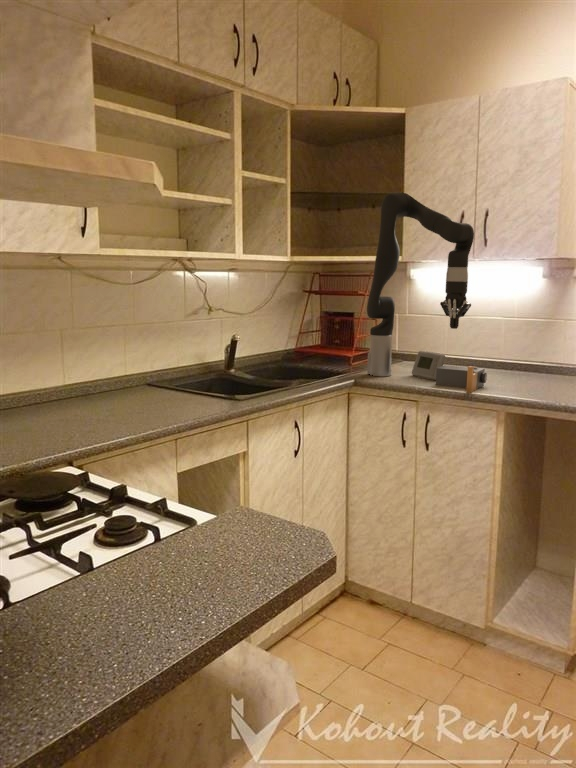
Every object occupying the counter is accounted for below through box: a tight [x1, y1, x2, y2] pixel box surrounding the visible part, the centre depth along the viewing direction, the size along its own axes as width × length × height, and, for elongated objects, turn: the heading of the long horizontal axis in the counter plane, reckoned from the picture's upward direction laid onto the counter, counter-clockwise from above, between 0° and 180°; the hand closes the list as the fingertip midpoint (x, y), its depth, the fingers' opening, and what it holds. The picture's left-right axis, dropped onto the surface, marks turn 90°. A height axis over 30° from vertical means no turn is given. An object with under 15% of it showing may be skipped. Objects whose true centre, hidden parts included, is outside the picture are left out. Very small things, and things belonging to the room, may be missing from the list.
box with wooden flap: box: [435, 364, 488, 389], centre depth 234 cm, size 18×9×7 cm, turn 57°
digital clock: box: [411, 350, 446, 381], centre depth 251 cm, size 16×9×11 cm, turn 15°
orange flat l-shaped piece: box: [465, 365, 478, 394], centre depth 222 cm, size 10×2×10 cm, turn 149°
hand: (454, 328), depth 220 cm, fingers closed
